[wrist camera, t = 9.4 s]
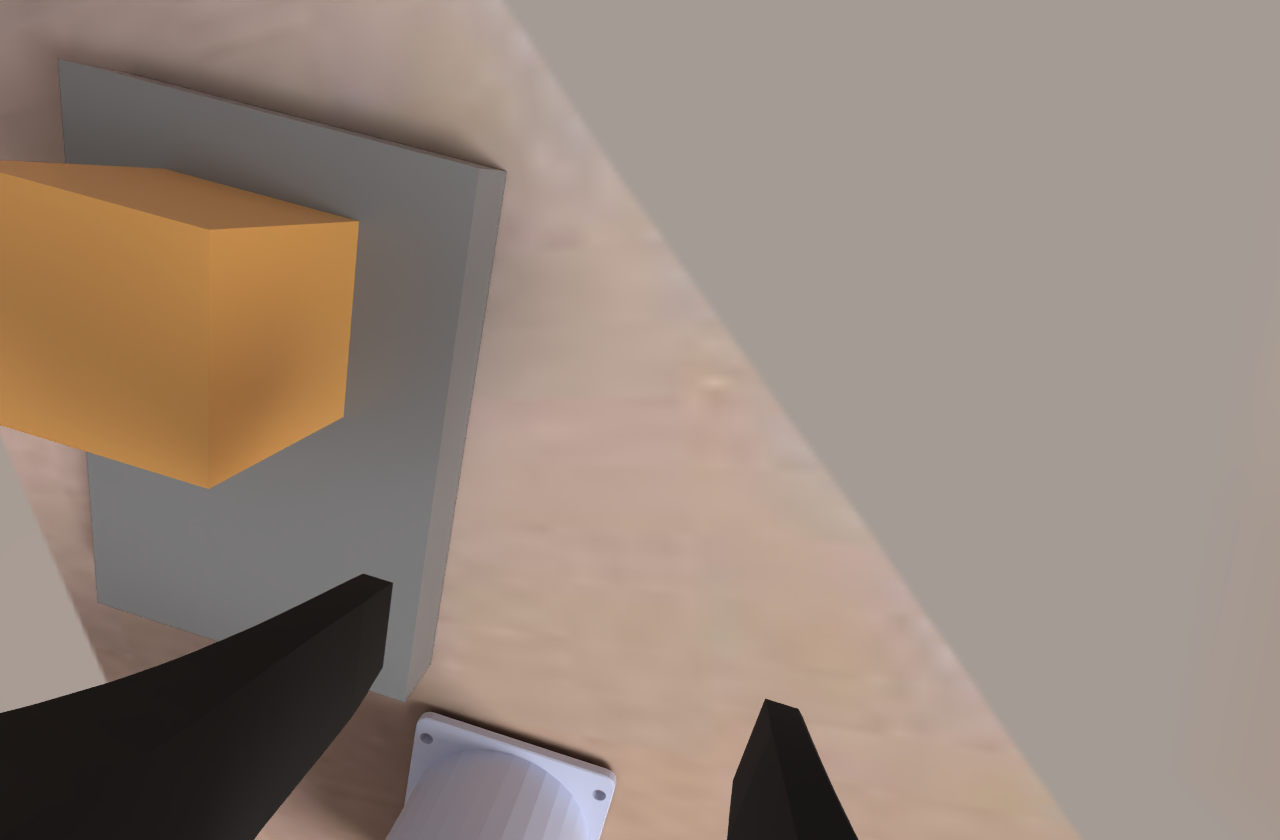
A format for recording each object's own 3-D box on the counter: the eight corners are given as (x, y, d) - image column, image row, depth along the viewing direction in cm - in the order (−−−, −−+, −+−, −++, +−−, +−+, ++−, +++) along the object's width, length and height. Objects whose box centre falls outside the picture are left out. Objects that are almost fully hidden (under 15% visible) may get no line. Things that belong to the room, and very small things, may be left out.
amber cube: (343, 417, 20) (208, 489, 15) (168, 365, 20) (-19, 419, 15) (359, 221, 18) (208, 229, 13) (163, 168, 18) (-55, 157, 13)
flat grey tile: (430, 664, 25) (351, 778, 20) (145, 572, 26) (3, 660, 21) (506, 171, 18) (418, 161, 14) (125, 72, 19) (-86, 29, 14)
